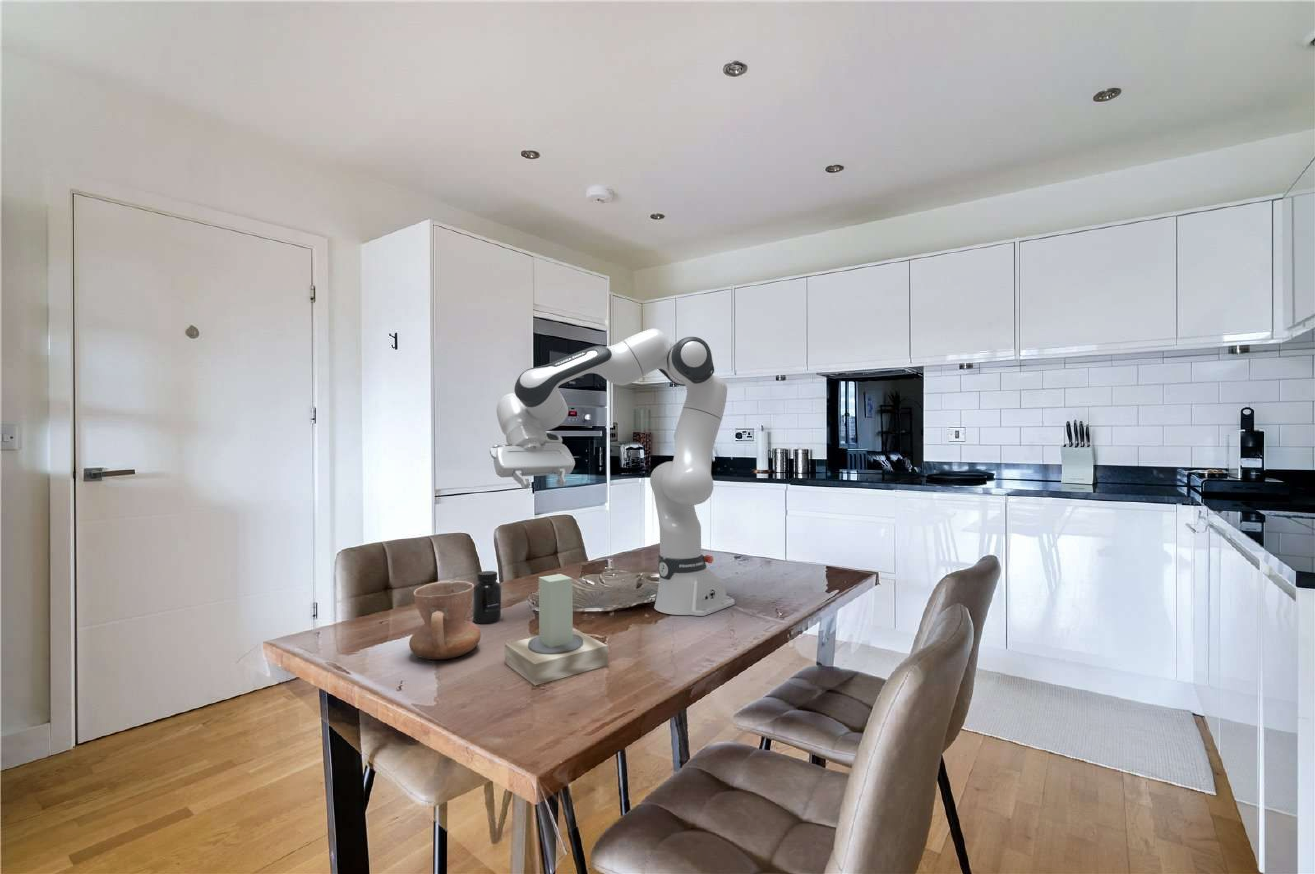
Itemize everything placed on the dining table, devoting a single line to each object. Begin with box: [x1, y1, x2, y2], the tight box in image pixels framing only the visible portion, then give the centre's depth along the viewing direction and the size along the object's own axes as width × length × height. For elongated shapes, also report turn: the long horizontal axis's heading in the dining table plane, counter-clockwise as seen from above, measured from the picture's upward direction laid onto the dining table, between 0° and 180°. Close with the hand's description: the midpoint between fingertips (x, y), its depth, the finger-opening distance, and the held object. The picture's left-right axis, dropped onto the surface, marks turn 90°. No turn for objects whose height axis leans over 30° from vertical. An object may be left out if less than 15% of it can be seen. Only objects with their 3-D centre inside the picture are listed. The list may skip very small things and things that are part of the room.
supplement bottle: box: [472, 570, 502, 625], centre depth 153 cm, size 7×7×12 cm
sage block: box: [538, 573, 574, 648], centre depth 124 cm, size 5×5×13 cm
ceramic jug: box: [408, 580, 482, 660], centre depth 130 cm, size 18×14×14 cm
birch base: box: [504, 627, 609, 686], centre depth 124 cm, size 16×14×5 cm
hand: (544, 485), depth 147 cm, fingers open, 8 cm apart
